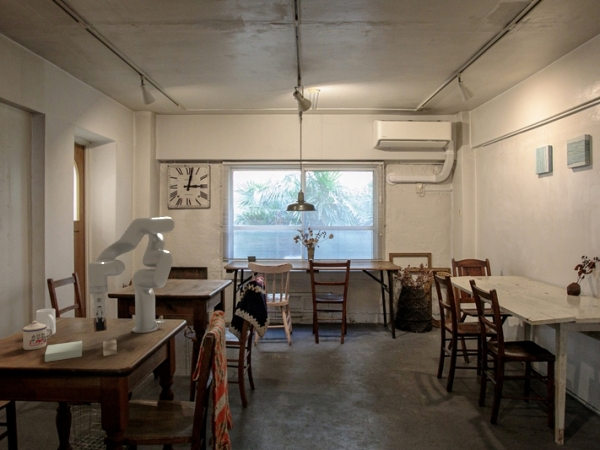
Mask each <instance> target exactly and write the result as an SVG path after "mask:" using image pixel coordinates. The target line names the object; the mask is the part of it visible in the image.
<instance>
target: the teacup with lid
mask: <svg viewBox="0 0 600 450" xmlns="http://www.w3.org/2000/svg"><path fill="white" fill-rule="evenodd" d="M48 329H49V330H50V334H49V335H48V336H46V330H48ZM52 333H53V330H52V329H51V328H47V326H46V325H45V324H40V323H37V321H36V320H33V321H31V323H30V324H28V325H26V326H24V327H23V328H22V339H23V340H22V345H23V347H22V348H23V349H24V350H25V351H28V350H29V351H31V350H37V349H42V348H44V347H46V346H47V340H49V338H51V336H53V334H52Z"/></svg>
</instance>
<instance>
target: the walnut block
mask: <svg viewBox="0 0 600 450" xmlns="http://www.w3.org/2000/svg"><path fill="white" fill-rule="evenodd" d="M103 321H104V330H103V331H102V332H105V331H107V329H108V328H107V317H106V316H103ZM96 322H97V320H96V317H94V318H93V332H94V333H97V332H100V331H96Z"/></svg>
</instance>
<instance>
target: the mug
mask: <svg viewBox="0 0 600 450" xmlns="http://www.w3.org/2000/svg"><path fill="white" fill-rule="evenodd" d="M35 313H36V314H35V315H36V318H35V321H37V323H40V324H45V325H46V326H47V328H51V329H52V330H53V333H52V335H55V334H56V330H57V329H56V327H57V326H56V309H55V308H50V307H49V308H42V309H38V310H36V312H35ZM49 334H50V330H49V329H48V330H46V337H48V336H49Z"/></svg>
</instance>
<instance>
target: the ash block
mask: <svg viewBox="0 0 600 450" xmlns="http://www.w3.org/2000/svg"><path fill="white" fill-rule="evenodd" d="M117 347H118V346H117V339H116V338H115V339H108V340H103V341H102V351H103V352H102V353H103V357H107V356H111V355H118V352H117V351H118V349H117Z"/></svg>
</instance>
